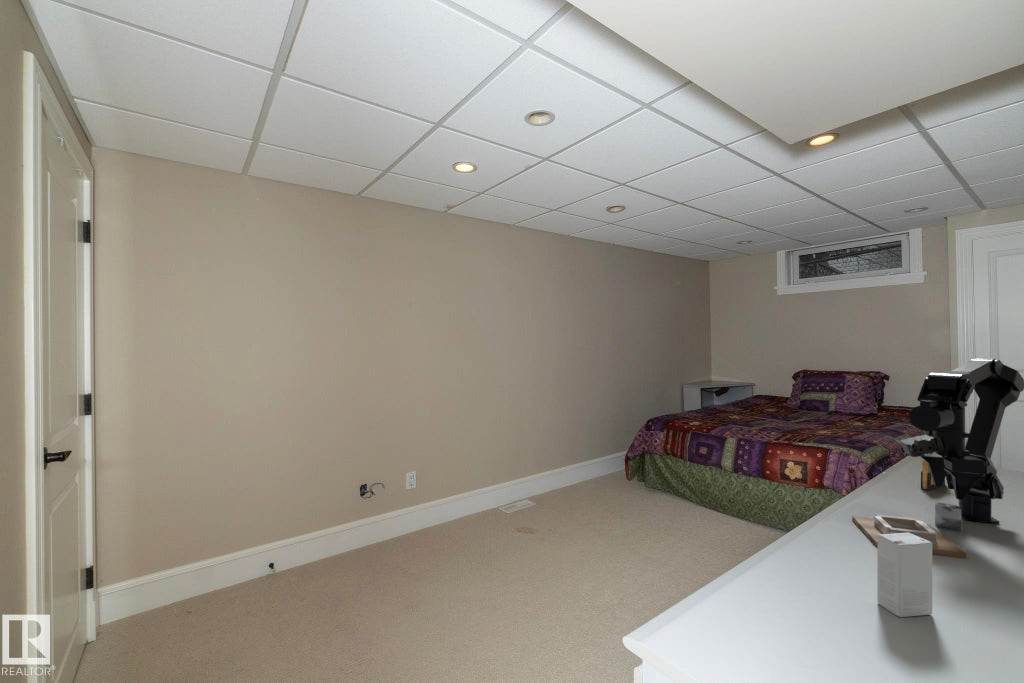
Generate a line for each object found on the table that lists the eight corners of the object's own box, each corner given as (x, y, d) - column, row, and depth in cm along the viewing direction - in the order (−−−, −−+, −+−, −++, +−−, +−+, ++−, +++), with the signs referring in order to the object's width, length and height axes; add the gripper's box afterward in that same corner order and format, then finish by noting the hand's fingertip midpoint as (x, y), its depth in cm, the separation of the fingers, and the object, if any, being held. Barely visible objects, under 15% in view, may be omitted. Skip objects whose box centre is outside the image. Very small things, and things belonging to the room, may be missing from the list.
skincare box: (907, 600, 77) (907, 530, 77) (934, 616, 73) (934, 542, 73) (875, 603, 77) (874, 532, 77) (900, 619, 72) (900, 544, 72)
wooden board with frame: (852, 519, 111) (852, 507, 111) (929, 528, 106) (929, 515, 106) (876, 546, 97) (876, 532, 97) (966, 558, 92) (966, 543, 92)
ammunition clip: (928, 490, 131) (928, 449, 131) (920, 488, 133) (920, 448, 133) (945, 484, 136) (945, 445, 136) (937, 483, 138) (937, 443, 137)
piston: (931, 522, 109) (931, 501, 109) (954, 524, 108) (954, 503, 108) (940, 529, 105) (940, 508, 105) (965, 532, 104) (965, 510, 103)
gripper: (888, 417, 118) (889, 477, 118) (924, 432, 100) (925, 502, 101) (943, 419, 114) (943, 481, 114) (990, 435, 96) (990, 508, 97)
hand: (948, 492), depth 106 cm, fingers open, 9 cm apart
